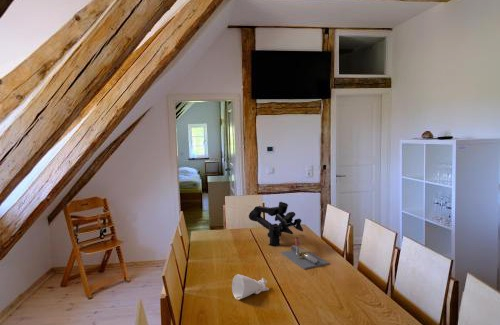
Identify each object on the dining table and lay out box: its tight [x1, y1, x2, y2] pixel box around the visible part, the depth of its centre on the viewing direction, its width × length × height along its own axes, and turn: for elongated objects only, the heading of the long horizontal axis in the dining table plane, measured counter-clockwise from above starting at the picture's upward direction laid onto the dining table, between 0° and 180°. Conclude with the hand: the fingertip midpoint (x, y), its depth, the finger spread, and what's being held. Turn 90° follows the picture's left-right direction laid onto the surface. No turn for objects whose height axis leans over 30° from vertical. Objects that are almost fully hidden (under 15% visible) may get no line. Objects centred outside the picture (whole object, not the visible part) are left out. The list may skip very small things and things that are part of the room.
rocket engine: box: [231, 273, 270, 301], centre depth 162 cm, size 12×12×18 cm
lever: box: [294, 237, 301, 257], centre depth 203 cm, size 2×3×12 cm
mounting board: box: [280, 247, 330, 270], centre depth 205 cm, size 28×18×1 cm, turn 23°
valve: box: [291, 244, 319, 265], centre depth 205 cm, size 26×6×5 cm, turn 23°
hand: (297, 232), depth 211 cm, fingers open, 9 cm apart
